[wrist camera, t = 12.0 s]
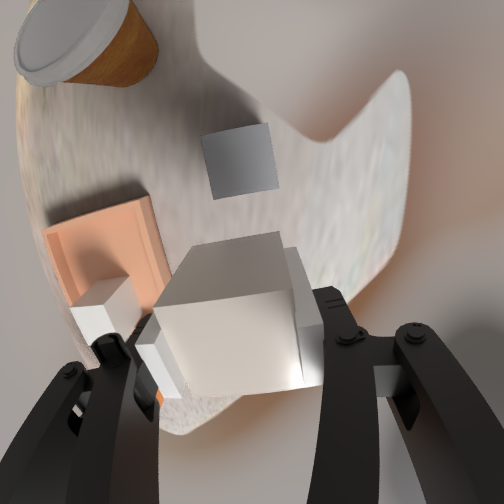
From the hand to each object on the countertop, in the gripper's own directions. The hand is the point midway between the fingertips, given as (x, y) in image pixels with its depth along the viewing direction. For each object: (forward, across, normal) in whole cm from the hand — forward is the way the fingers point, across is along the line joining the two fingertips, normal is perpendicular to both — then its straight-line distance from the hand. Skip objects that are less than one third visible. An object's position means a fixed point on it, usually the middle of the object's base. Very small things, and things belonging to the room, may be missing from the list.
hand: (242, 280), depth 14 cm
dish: (+11, -15, -2) cm, 19 cm away
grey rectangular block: (+12, +1, +6) cm, 13 cm away
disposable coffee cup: (+12, -8, +19) cm, 24 cm away
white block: (+11, -16, -5) cm, 20 cm away
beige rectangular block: (0, 0, 0) cm, 0 cm away
